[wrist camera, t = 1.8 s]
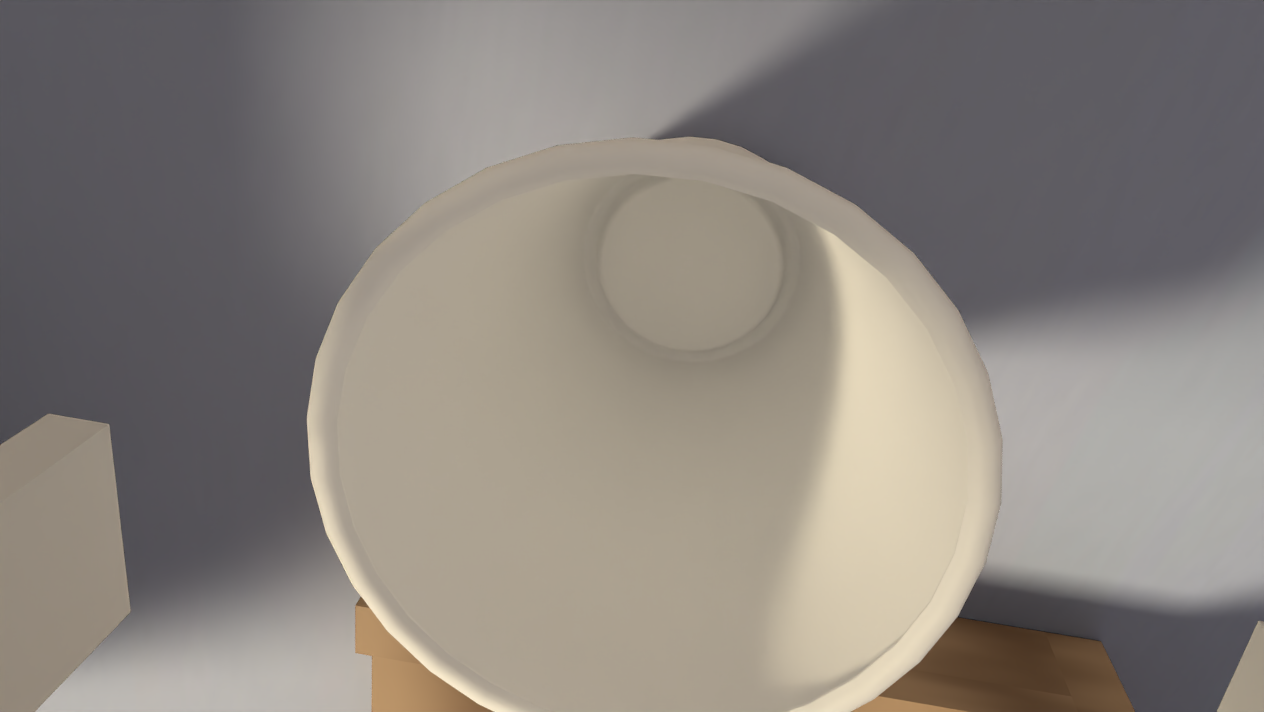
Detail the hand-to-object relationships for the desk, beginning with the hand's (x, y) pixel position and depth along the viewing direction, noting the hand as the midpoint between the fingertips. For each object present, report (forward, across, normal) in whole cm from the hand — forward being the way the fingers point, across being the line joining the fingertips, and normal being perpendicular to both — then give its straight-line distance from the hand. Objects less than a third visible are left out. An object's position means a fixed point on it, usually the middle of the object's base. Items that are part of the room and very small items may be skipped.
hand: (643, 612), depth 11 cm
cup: (+14, 0, 0) cm, 14 cm away
